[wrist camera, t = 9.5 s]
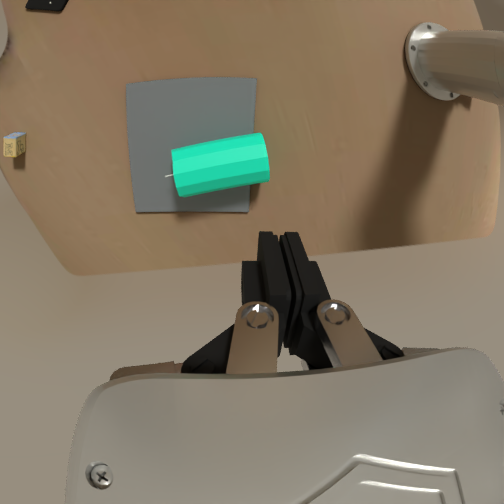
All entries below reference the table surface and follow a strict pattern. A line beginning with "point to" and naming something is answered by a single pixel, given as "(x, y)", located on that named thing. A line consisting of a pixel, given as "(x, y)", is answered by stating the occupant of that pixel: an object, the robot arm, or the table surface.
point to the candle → (220, 164)
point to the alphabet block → (14, 144)
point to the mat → (184, 136)
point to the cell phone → (46, 4)
